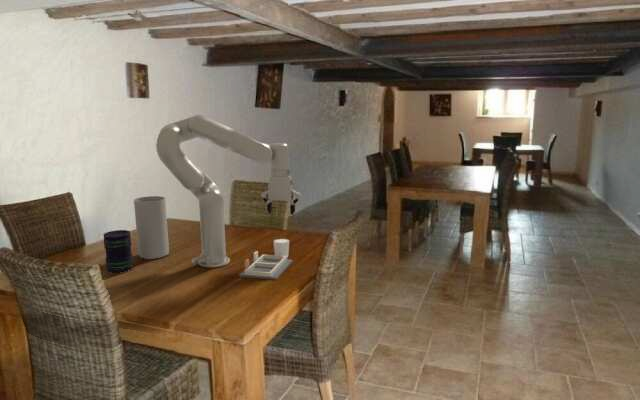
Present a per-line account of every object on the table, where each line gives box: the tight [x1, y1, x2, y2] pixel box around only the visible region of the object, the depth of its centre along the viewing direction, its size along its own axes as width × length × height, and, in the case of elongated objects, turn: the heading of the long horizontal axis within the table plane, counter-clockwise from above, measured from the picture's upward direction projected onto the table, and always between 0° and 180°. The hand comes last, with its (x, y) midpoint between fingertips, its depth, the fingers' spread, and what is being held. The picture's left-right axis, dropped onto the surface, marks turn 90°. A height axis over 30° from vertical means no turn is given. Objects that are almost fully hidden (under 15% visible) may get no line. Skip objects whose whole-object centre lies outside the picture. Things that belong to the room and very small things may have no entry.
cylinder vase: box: [133, 195, 170, 260], centre depth 200 cm, size 12×12×25 cm
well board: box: [238, 250, 293, 281], centre depth 185 cm, size 21×15×5 cm
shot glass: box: [273, 238, 290, 258], centre depth 200 cm, size 7×7×7 cm
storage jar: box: [102, 229, 134, 274], centre depth 184 cm, size 10×10×15 cm
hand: (281, 213), depth 197 cm, fingers open, 9 cm apart
